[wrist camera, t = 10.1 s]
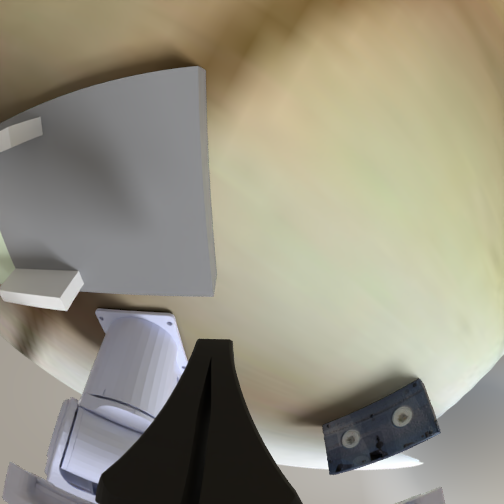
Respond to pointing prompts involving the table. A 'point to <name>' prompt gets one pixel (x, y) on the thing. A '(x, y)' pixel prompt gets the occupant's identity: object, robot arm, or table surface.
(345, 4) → the table surface
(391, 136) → the table surface
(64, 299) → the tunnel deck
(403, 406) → the vhs cassette tape
